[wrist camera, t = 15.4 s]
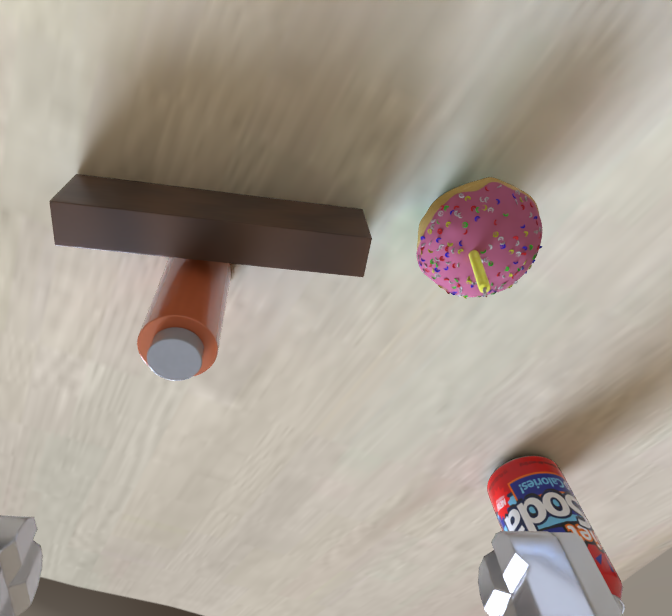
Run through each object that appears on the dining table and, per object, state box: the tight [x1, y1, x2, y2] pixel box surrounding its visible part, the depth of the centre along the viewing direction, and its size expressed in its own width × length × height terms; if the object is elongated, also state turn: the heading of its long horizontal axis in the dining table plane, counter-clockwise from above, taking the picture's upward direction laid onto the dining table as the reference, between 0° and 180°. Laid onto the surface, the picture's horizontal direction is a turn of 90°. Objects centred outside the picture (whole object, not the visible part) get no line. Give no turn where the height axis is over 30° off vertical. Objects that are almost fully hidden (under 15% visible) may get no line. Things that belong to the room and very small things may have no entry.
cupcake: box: [417, 177, 542, 299], centre depth 35 cm, size 9×8×12 cm
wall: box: [50, 174, 372, 277], centre depth 37 cm, size 20×3×5 cm, turn 81°
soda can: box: [487, 456, 625, 614], centre depth 51 cm, size 8×8×15 cm
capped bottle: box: [137, 257, 231, 381], centre depth 36 cm, size 5×5×11 cm
